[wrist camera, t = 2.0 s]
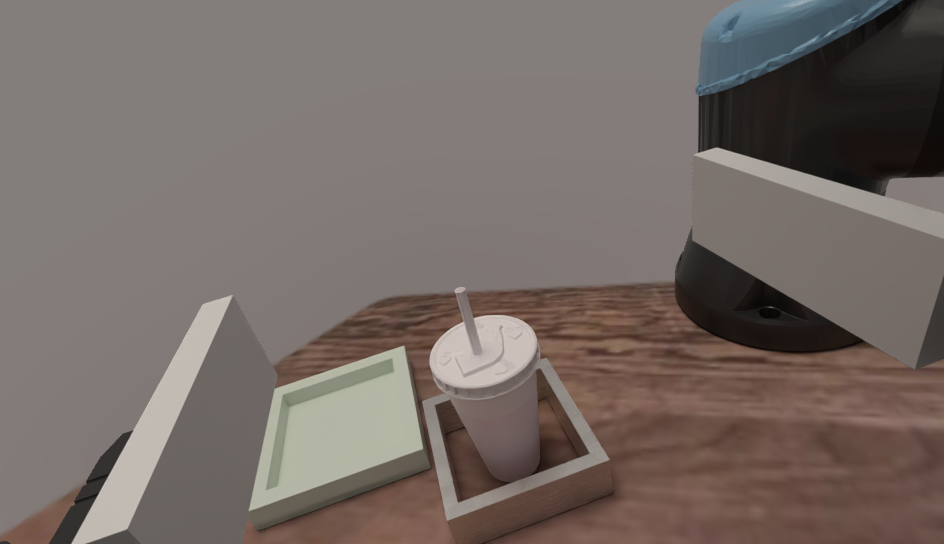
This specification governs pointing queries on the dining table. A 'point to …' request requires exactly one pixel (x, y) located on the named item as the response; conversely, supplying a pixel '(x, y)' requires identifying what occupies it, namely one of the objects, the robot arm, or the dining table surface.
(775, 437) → the dining table surface
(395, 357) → the tray
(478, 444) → the smoothie
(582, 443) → the square frame
